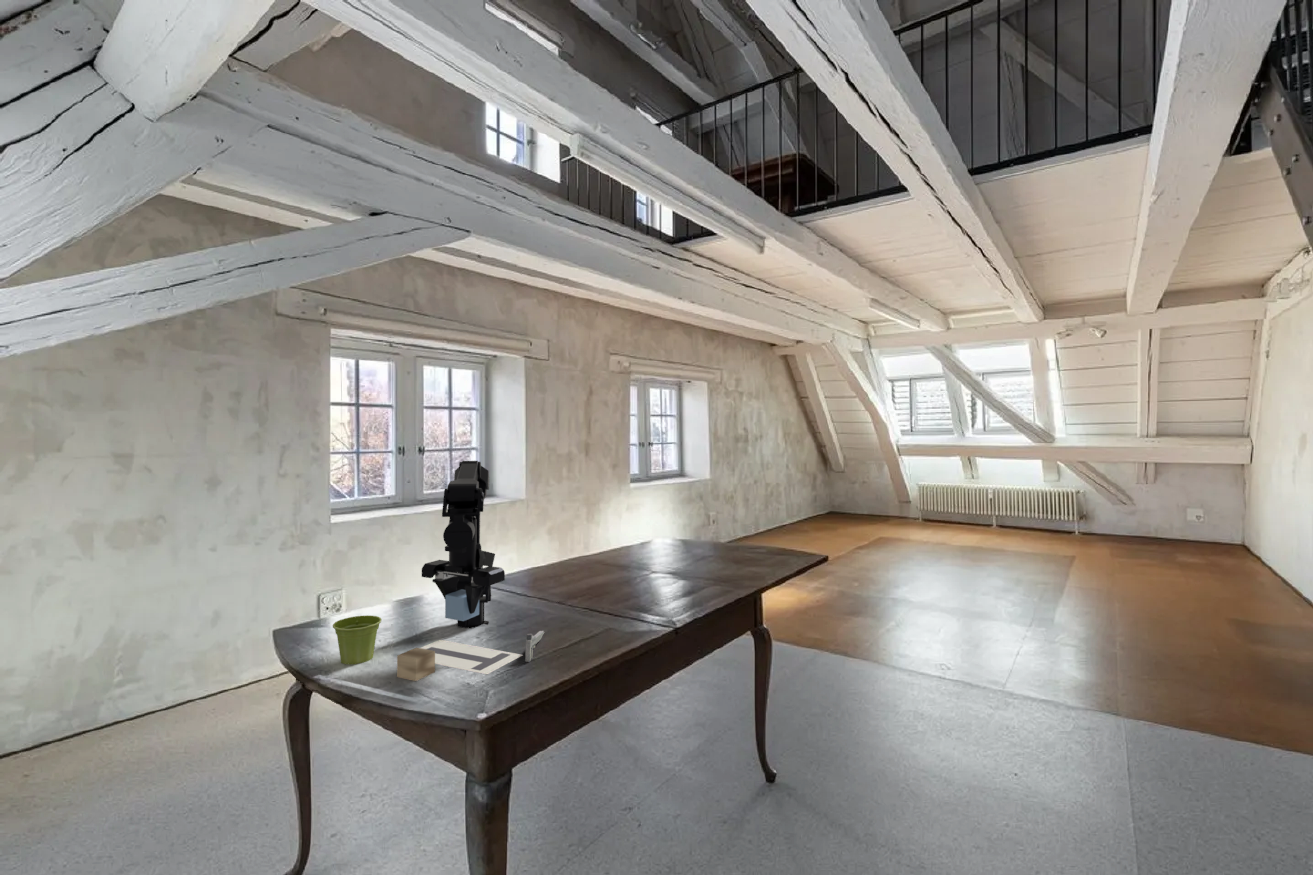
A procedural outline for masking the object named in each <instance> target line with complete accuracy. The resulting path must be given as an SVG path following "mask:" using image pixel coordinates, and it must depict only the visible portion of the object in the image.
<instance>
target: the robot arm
mask: <svg viewBox="0 0 1313 875" xmlns="http://www.w3.org/2000/svg"><path fill="white" fill-rule="evenodd" d="M489 472H490V471H489V469H487V468H486V467H483V466H482V463H481V461H478V460H462V461H459V466H458V468H456V469H455V470H454V475H453V476H454V477H453V480H451V481H449V482H448V484H447V488H444V490H443V499H442V500H443V501H442V509H441V510H442V512H441V518H449V519H448V520H449V522H448V525H446V527H445V529H444V531H443V534H442V535H443V536H442V538H443V541H444V544H445V546H444V552H448V560H444V559H443V560H442V559H436V560H433V561H430V562H427V563H424V564H423V566H422V568H421V578H428V579H432V578H434V579H432V580H431V581H432V583H435V585H436V586H437V588H438V589H439V592H440V593H441V594H442V597H443V598H444V599H445V595H447V594H450V593H453V592H456V591H458V590H461V589H462V590H466V597H467V603H468V608H469V612H470V614H472V613H474V612H475V610H476V607H477V604H478V601H479V615H477V616H475V617H472V618H470V619H468V620H465V621H459V620H457V623H455V624H453V626H454V627H455V626H456V627H459V628H466V629H475V628H477V627H480V626H483V625H488V624H490V622H489V620H485V604H488V603H489V602H491V601H492V586H493V585H495V584H498V583H501V582H503V581H505V580H506V578H505V577H506V572H505V570H504V568H502V567H499V566H493V565H494V561H495V557H496V556H495V555H496V553H493V552H489V551H486V550H482V545H481V512H482V513H483V512H484V505H485V503H484V502H485V499H486V497H487V491H489V490H490V473H489ZM484 566H485V567H484Z"/></svg>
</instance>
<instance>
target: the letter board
mask: <svg viewBox="0 0 1313 875" xmlns="http://www.w3.org/2000/svg"><path fill="white" fill-rule="evenodd" d="M420 648H422V649H427V650H432V651H435V665H439V666H444V667H449V668H453V669H457V670H462V671H469V672H473V673H477V674H483V675H488V674H489V675H490V674H491V673H492V672H494V671H497V670H498V669H500V668H502V667H504V666H506V665H508V664H509V663H511V662H513V661H515V660H516V659H519V658H520V657H522V656H523V654H519V653H515V652H511V651H510V652H508V651H505V650H504V651H503V650H499V649H492V648H488V647H482V646H476V645H471V644H466V643H461V642H455V641H450V640H449V641H448V640H443V639H439V640H436V641H434V642H431V643H429V644H426V645H424V646H421V647H420Z"/></svg>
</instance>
